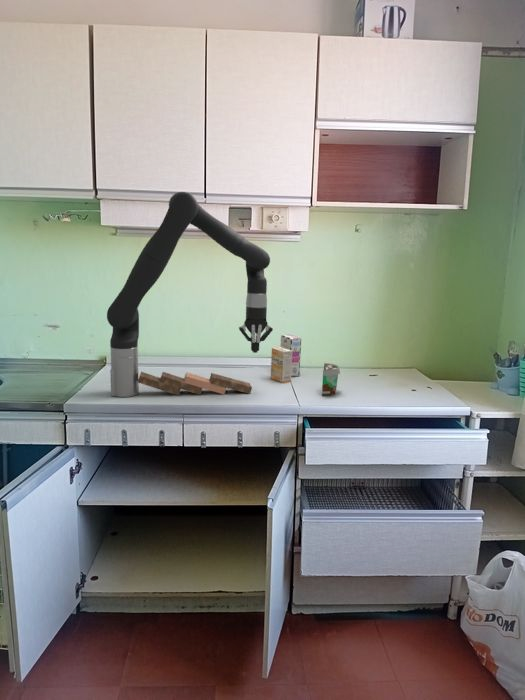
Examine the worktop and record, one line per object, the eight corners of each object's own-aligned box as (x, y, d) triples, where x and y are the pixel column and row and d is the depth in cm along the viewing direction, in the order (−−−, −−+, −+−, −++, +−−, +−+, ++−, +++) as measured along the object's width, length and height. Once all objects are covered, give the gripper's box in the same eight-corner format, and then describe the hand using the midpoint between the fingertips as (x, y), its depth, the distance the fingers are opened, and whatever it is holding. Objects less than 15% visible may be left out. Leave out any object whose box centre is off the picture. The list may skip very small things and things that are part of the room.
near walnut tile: (178, 395, 176) (137, 382, 172) (178, 390, 181) (138, 377, 178) (180, 389, 175) (139, 375, 172) (180, 384, 181) (141, 371, 178)
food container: (338, 398, 179) (340, 371, 177) (321, 396, 179) (323, 370, 177) (338, 388, 190) (340, 363, 188) (322, 387, 191) (324, 362, 189)
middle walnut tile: (200, 395, 177) (159, 382, 174) (199, 390, 183) (160, 377, 180) (202, 388, 177) (162, 375, 173) (201, 384, 183) (162, 371, 179)
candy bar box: (300, 376, 207) (301, 338, 204) (289, 377, 205) (290, 338, 202) (289, 370, 217) (290, 333, 214) (278, 371, 215) (280, 334, 212)
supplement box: (269, 378, 202) (270, 347, 200) (279, 377, 205) (280, 346, 203) (282, 383, 196) (283, 351, 193) (291, 381, 199) (293, 350, 196)
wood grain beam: (250, 393, 180) (210, 383, 177) (247, 389, 186) (209, 379, 183) (252, 387, 180) (212, 377, 176) (249, 383, 186) (211, 372, 182)
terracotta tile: (224, 394, 179) (184, 382, 175) (222, 389, 184) (184, 378, 181) (226, 388, 178) (186, 376, 175) (224, 383, 184) (186, 372, 181)
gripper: (239, 306, 174) (238, 354, 177) (276, 307, 176) (274, 354, 180) (237, 304, 181) (236, 350, 184) (272, 304, 183) (270, 350, 187)
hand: (255, 352), depth 182 cm, fingers closed
